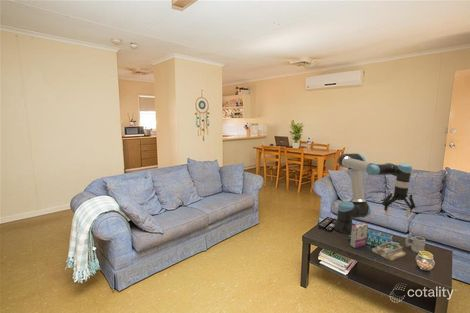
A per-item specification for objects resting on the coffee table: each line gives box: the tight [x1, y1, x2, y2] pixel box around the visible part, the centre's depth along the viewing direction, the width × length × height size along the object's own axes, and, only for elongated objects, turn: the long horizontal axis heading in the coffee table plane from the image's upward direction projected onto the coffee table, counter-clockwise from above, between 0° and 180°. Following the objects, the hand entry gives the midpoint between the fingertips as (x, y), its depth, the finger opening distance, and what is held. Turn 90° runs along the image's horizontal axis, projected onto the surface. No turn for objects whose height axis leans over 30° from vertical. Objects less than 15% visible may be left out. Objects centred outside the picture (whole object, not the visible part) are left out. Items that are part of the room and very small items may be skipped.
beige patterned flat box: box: [371, 241, 407, 262], centre depth 172 cm, size 14×17×4 cm
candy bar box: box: [349, 222, 369, 249], centre depth 180 cm, size 11×5×16 cm, turn 114°
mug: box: [404, 232, 426, 254], centre depth 176 cm, size 8×12×12 cm, turn 46°
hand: (396, 215), depth 170 cm, fingers open, 13 cm apart
